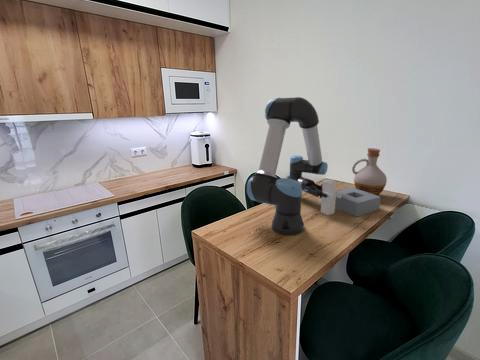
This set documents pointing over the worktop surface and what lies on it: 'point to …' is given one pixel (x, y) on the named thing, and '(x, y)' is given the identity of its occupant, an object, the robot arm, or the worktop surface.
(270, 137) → the robot arm
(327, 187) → the post
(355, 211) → the well block
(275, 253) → the worktop surface
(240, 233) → the worktop surface
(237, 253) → the worktop surface
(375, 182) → the jug
